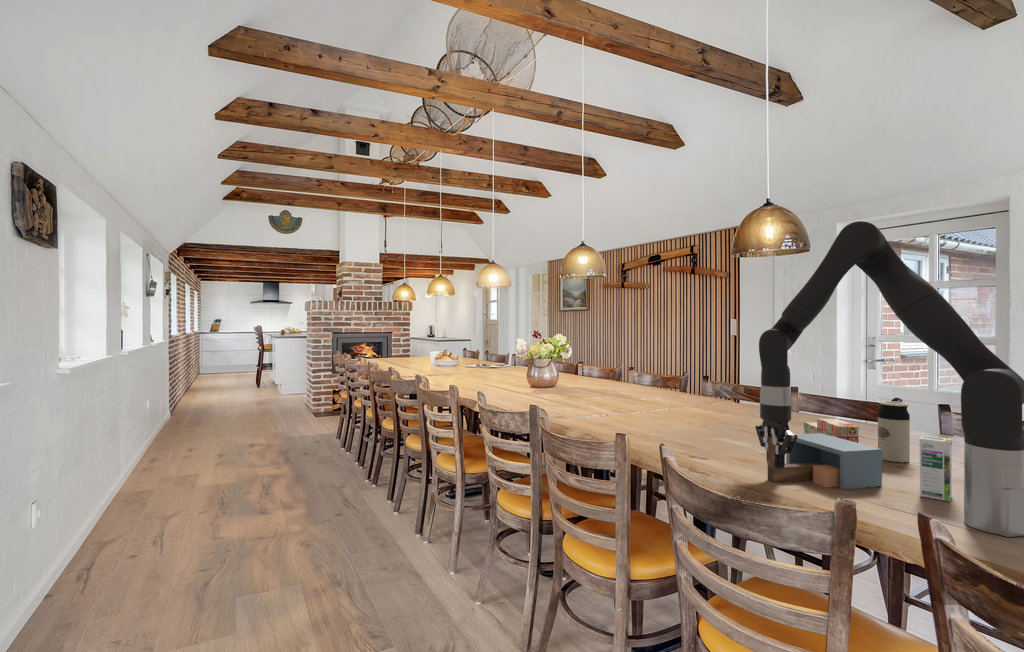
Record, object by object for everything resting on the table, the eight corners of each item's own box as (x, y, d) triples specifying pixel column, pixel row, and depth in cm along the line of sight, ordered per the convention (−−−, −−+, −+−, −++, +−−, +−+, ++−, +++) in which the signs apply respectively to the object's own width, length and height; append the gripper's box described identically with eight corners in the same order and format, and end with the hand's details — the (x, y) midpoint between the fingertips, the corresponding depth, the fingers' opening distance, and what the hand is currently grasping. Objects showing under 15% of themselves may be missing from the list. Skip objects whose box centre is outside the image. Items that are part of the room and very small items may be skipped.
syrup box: (919, 496, 124) (919, 438, 124) (922, 491, 128) (922, 434, 128) (949, 502, 120) (949, 441, 120) (952, 496, 124) (952, 437, 124)
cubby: (881, 486, 132) (881, 449, 132) (844, 489, 129) (844, 451, 129) (820, 465, 151) (820, 433, 151) (786, 467, 149) (786, 434, 149)
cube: (841, 486, 132) (841, 469, 132) (826, 487, 131) (826, 470, 131) (827, 481, 136) (827, 464, 136) (812, 482, 136) (812, 465, 136)
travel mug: (898, 456, 162) (898, 401, 162) (915, 463, 154) (916, 404, 154) (872, 456, 162) (872, 400, 162) (888, 462, 154) (888, 404, 154)
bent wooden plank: (844, 485, 133) (844, 439, 133) (788, 489, 130) (788, 442, 130) (820, 476, 141) (820, 433, 141) (767, 479, 137) (767, 436, 137)
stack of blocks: (803, 449, 173) (803, 413, 173) (823, 449, 172) (823, 413, 172) (836, 466, 151) (836, 425, 151) (858, 467, 151) (859, 426, 151)
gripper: (807, 406, 130) (807, 472, 130) (769, 398, 144) (769, 458, 144) (782, 406, 129) (781, 474, 129) (746, 399, 142) (746, 460, 142)
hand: (775, 465), depth 136 cm, fingers closed on bent wooden plank, 2 cm apart
